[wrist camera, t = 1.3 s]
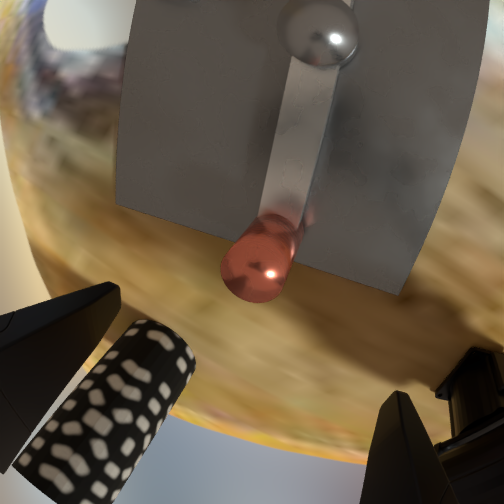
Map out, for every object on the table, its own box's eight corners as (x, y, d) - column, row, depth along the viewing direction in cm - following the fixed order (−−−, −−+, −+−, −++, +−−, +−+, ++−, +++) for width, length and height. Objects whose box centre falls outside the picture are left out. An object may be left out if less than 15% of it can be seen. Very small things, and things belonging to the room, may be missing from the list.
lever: (308, -52, 11) (287, -99, 7) (374, -40, 11) (378, -85, 6) (245, 242, 21) (211, 288, 17) (300, 260, 21) (281, 313, 16)
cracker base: (397, 287, 21) (401, 329, 17) (123, 199, 25) (86, 220, 21) (485, -13, 10) (512, -34, 6) (162, -63, 13) (125, -82, 10)
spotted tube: (151, 375, 35) (60, 503, 18) (116, 320, 32) (-2, 452, 15) (208, 379, 32) (115, 539, 15) (173, 317, 29) (39, 490, 12)
